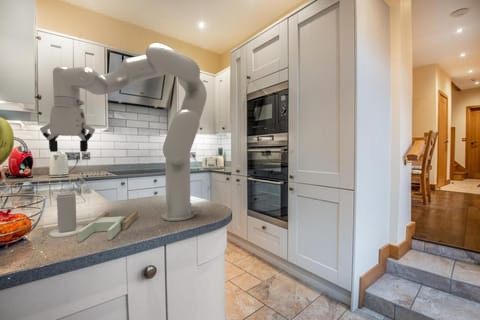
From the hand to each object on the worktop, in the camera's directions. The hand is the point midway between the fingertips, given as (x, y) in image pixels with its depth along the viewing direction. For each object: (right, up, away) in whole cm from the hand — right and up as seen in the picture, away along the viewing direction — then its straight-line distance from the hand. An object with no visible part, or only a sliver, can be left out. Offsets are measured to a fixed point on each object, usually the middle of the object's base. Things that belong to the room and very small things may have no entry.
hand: (68, 151), depth 82 cm
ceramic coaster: (+6, -27, -8) cm, 28 cm away
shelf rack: (+16, -26, +1) cm, 31 cm away
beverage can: (+6, -26, -8) cm, 28 cm away
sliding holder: (+18, -27, -8) cm, 33 cm away
